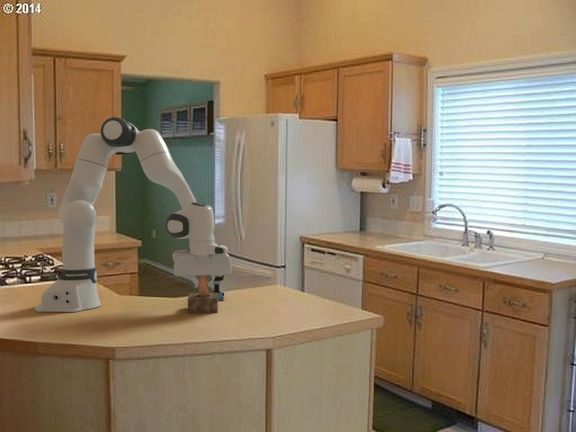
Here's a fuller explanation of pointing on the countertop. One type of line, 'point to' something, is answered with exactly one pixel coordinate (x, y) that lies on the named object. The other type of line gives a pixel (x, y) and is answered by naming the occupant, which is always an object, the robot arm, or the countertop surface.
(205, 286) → the dowel
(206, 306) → the socket block
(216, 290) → the push button
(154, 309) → the countertop surface
